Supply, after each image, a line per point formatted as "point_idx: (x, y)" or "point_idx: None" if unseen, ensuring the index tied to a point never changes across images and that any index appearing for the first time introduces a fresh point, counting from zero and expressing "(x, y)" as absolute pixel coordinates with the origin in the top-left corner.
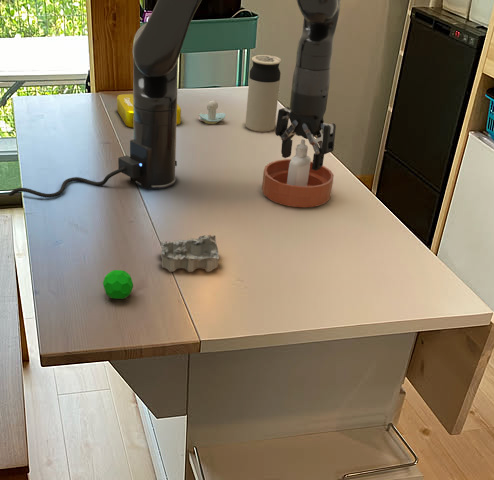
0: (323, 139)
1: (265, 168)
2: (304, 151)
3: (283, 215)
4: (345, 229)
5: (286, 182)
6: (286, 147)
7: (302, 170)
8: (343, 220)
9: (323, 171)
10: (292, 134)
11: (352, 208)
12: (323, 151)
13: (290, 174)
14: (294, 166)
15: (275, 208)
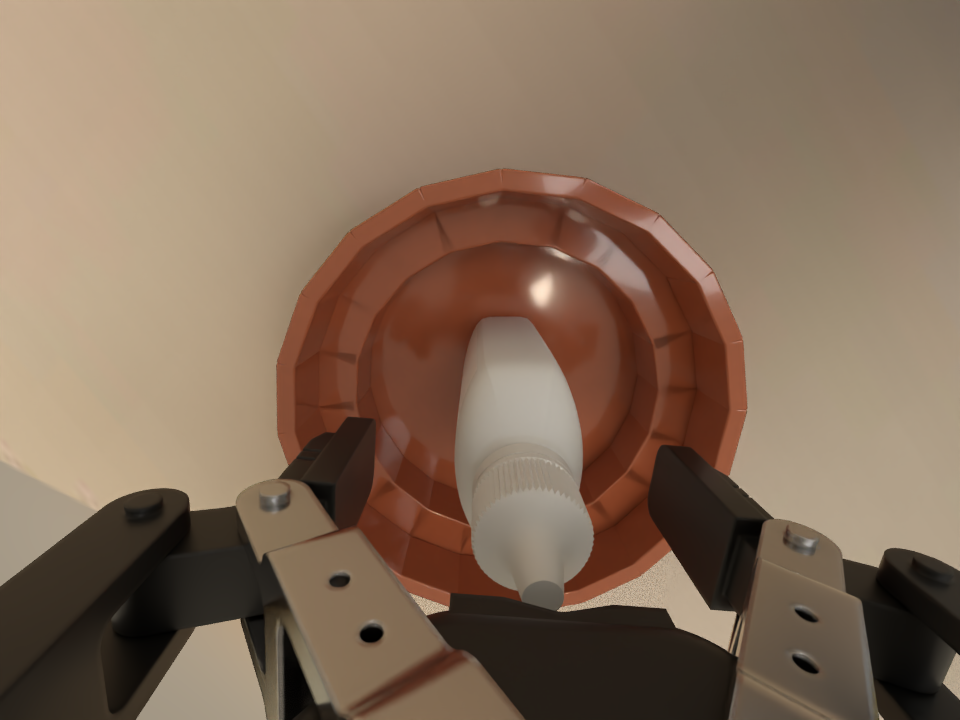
0: (33, 638)
1: (722, 310)
2: (479, 498)
3: (388, 100)
4: (76, 220)
5: (604, 434)
6: (700, 499)
7: (460, 403)
8: (154, 301)
9: (448, 574)
10: (736, 630)
11: (219, 442)
12: (143, 500)
13: (522, 339)
14: (502, 359)
15: (473, 141)
